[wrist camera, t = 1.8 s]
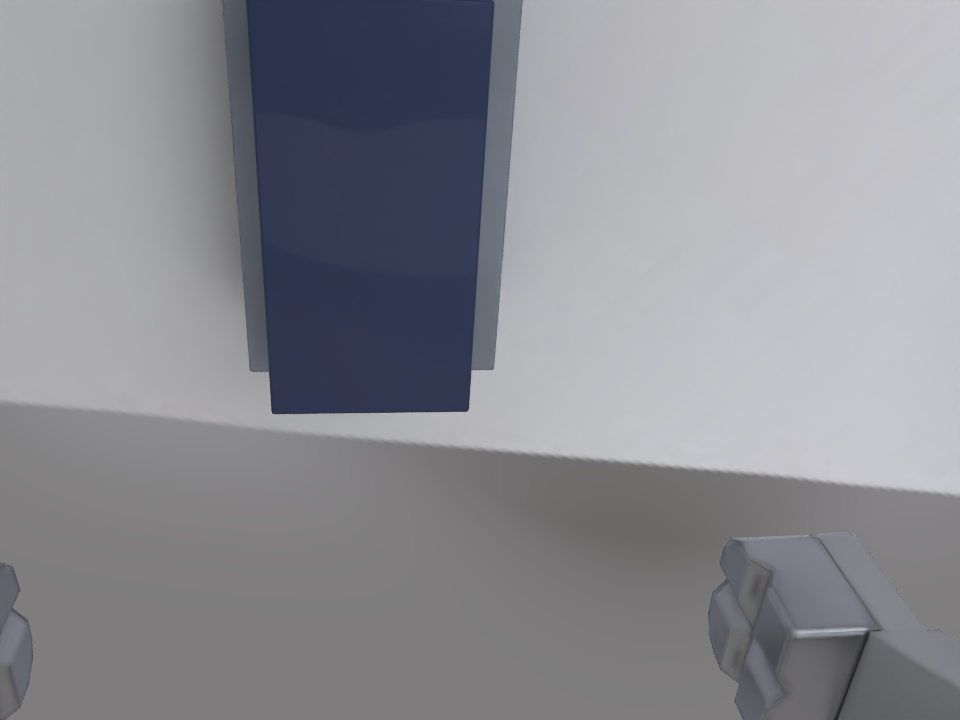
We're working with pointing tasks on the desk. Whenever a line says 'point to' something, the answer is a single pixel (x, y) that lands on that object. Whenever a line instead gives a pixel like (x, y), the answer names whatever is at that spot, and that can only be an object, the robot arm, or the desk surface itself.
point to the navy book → (370, 198)
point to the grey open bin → (493, 182)
